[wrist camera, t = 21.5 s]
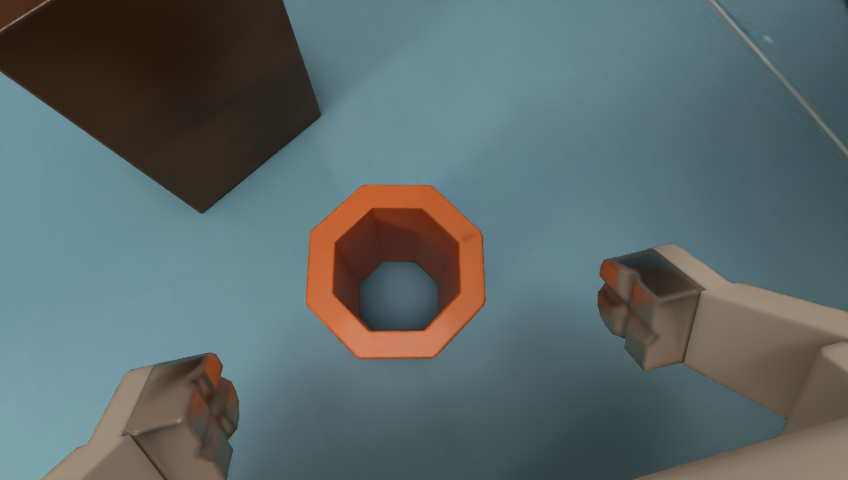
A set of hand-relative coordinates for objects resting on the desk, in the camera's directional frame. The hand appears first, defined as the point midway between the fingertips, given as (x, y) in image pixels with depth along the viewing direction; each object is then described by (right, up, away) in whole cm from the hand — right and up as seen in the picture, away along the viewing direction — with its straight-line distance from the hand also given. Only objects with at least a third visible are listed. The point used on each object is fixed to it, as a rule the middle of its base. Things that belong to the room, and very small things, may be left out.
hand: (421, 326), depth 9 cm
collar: (-1, -1, +12) cm, 12 cm away
